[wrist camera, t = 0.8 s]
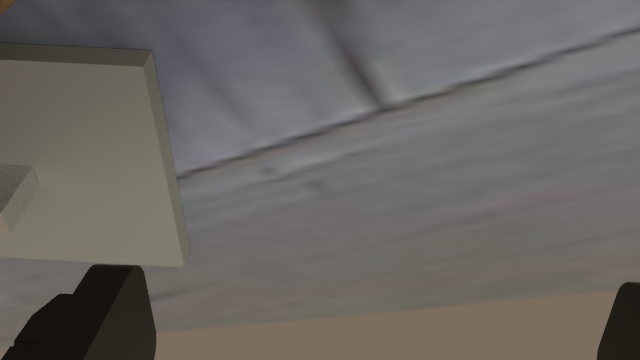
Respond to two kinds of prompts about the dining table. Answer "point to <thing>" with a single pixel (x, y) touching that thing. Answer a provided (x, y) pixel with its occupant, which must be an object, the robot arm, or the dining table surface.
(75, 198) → the base plate
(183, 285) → the dining table surface
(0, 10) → the cardboard box
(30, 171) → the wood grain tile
